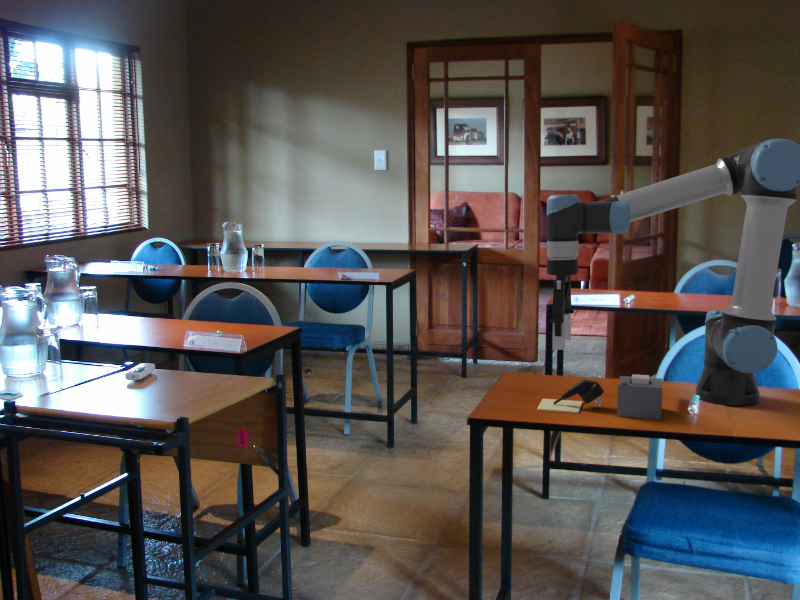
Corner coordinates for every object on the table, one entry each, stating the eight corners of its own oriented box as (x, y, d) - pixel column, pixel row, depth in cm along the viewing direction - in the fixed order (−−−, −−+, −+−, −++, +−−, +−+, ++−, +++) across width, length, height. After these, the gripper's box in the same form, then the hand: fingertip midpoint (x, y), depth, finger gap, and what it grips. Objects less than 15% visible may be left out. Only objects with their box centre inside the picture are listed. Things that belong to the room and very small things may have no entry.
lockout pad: (582, 402, 197) (582, 401, 197) (578, 413, 188) (578, 411, 188) (542, 400, 201) (542, 398, 201) (536, 410, 191) (536, 408, 191)
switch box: (661, 408, 191) (662, 376, 190) (661, 419, 182) (662, 385, 181) (619, 405, 195) (620, 373, 194) (617, 416, 185) (617, 382, 184)
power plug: (552, 398, 197) (592, 372, 194) (569, 422, 197) (610, 397, 194) (551, 403, 192) (592, 377, 189) (569, 428, 192) (610, 402, 189)
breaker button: (648, 391, 189) (649, 375, 188) (648, 395, 185) (649, 379, 185) (631, 390, 190) (632, 374, 190) (631, 394, 186) (631, 378, 186)
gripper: (553, 254, 202) (553, 335, 205) (539, 262, 179) (539, 353, 182) (582, 254, 200) (582, 335, 203) (572, 262, 177) (571, 354, 179)
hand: (562, 344), depth 192 cm, fingers open, 13 cm apart
